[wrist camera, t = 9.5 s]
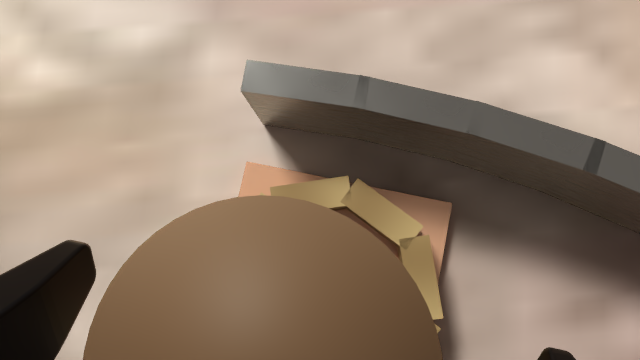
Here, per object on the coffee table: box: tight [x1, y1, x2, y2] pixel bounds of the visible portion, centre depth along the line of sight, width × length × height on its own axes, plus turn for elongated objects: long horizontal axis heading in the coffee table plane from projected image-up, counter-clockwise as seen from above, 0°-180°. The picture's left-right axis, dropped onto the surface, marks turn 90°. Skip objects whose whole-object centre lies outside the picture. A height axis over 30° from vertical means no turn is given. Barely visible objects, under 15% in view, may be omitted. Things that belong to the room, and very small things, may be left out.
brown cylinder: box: [83, 176, 443, 360], centre depth 11 cm, size 7×7×13 cm
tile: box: [238, 162, 452, 284], centre depth 18 cm, size 8×8×1 cm
